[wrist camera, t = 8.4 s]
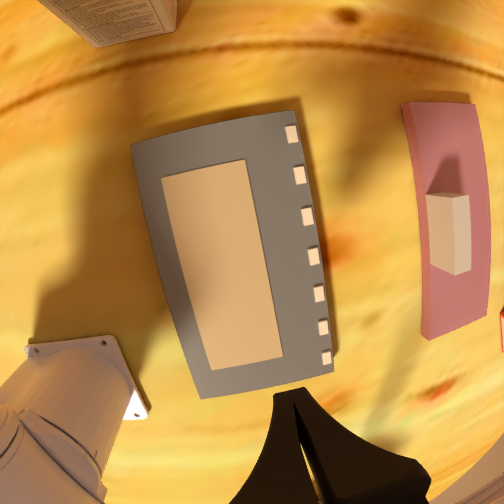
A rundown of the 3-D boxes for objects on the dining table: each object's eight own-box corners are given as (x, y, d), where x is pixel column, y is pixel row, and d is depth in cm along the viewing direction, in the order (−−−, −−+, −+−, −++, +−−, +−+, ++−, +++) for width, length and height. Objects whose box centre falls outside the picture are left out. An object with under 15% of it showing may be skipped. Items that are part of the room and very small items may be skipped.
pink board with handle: (421, 334, 23) (448, 358, 18) (400, 105, 18) (433, 92, 14) (478, 310, 23) (507, 327, 19) (465, 106, 19) (499, 98, 15)
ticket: (201, 389, 22) (200, 401, 21) (135, 146, 18) (129, 144, 17) (329, 363, 22) (335, 372, 21) (290, 114, 18) (295, 109, 17)
